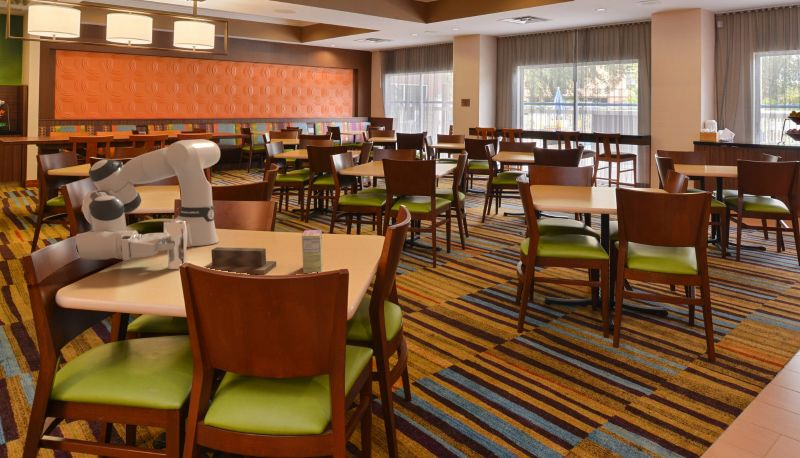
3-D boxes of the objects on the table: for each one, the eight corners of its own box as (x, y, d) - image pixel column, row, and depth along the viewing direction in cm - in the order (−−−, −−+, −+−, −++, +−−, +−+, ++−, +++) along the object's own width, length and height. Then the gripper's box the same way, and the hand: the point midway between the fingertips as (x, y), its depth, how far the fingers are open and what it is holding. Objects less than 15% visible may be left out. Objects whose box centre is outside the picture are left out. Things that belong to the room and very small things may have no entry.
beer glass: (180, 264, 200) (177, 218, 197) (194, 267, 196) (191, 220, 193) (161, 268, 194) (158, 221, 192) (175, 271, 190) (172, 223, 188)
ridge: (200, 273, 188) (199, 252, 187) (216, 264, 200) (215, 244, 199) (264, 275, 186) (263, 254, 185) (276, 265, 198) (275, 245, 197)
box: (304, 266, 198) (303, 229, 195) (322, 265, 198) (322, 229, 196) (302, 274, 187) (301, 236, 185) (321, 273, 188) (320, 235, 186)
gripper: (140, 247, 202) (183, 246, 204) (122, 261, 182) (170, 259, 185) (138, 228, 201) (182, 227, 203) (120, 240, 181) (169, 239, 183)
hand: (176, 243), depth 194 cm, fingers open, 8 cm apart
